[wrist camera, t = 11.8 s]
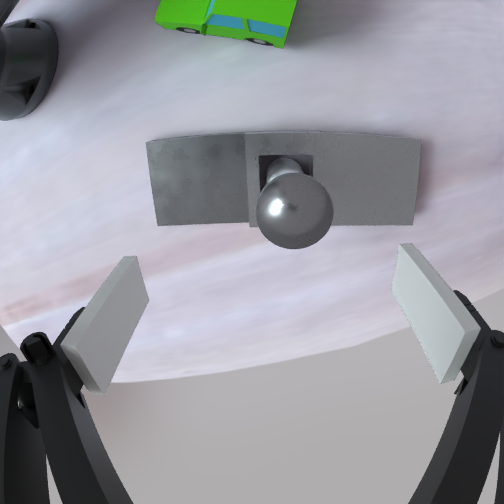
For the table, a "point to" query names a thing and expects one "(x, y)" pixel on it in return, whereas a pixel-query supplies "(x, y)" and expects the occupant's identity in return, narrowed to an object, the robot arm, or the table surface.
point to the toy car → (230, 18)
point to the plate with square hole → (283, 143)
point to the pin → (293, 206)
